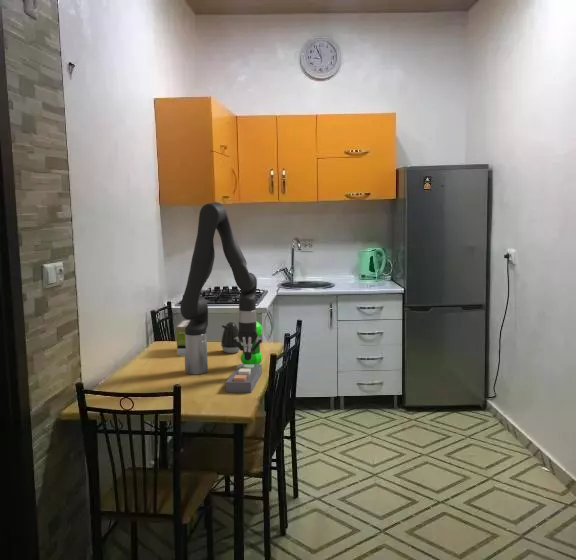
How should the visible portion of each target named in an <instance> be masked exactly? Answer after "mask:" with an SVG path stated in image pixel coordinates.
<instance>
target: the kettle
mask: <svg viewBox="0 0 576 560" xmlns="http://www.w3.org/2000/svg"><path fill="white" fill-rule="evenodd" d="M221 328H223V331H222V333H221V334H222V335H221V340H220V342H221V344H220V346H221V349H222V351H223V352H225V353H226V354H230V353H232V354H237V353H238V352H239V351H241V350H240V349H239V348H238V347H237V345H236V344H235V343H234V342H233V339H234V338H236V337H237V336H238V333H239V326H237V324H236V323H235V322H232V321H228V322H227V323H226V324H225V325H224V324H222V325H221ZM239 342H240V343H241V345H242V342H241V340H240V339H239ZM236 352H237V353H236Z"/></svg>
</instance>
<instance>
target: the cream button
mask: <svg viewBox="0 0 576 560" xmlns="http://www.w3.org/2000/svg"><path fill="white" fill-rule="evenodd" d="M250 374H251V369H241V368H240V370H239V371H238V375H250Z"/></svg>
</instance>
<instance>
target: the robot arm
mask: <svg viewBox="0 0 576 560" xmlns="http://www.w3.org/2000/svg"><path fill="white" fill-rule="evenodd" d="M228 215H229V214H228V213H227V209H226V207H225V206H224V205H223V204H222V203H220V202H217V201H214V202H208V203H205V204H204V205H203V206H201V209H200V210H199V215H198V223H197V224H198V225H197V232H196V233H197V234H196V240H195V243H194V248H193V253H192V258H191V262H190V267H189V273H188V277H187V281H186V285H185V289H184V293H183V296H182V299H181V302H180V308H179V309H180V315H181V316H182V317H183V318H184V320H186V321H188V320H190V322H189V324H188V325H187V326H186V328H185V343H186V351H185V352H184V354H185V356H184V372H185V374H189V375H202V374H205V373H208V371H209V369H208V368H209V365H208V340H207V329H208V327H209V306H208V305H209V304H208V302H207V300H206V298H205V297H203V296H201V292H202V289H203V288H204V285H205V284H206V283H207V281H208V279H209V277H210V276H211V274H212V271H213V267H214V263H215V258H216V257H215V255H216V254H215V245H214V239H215V235H216V234H215V233H216V230H217V232H218V234H219V238H220V241H221V245H222V250H223V254H224V257H225V260H227V263H228V266H229V267H230V269H231V270H232V271H231V272H232V275H233V278H234V281H235V284H236V286H237V287H238V289H239V290H240V296H239V298H238V318H237V319H238V329H239V333H238V336H237V337H236V338H234V339H233V342H234V343H235V344H236V345H237V347H238V348H239V349H240V350H239V351H240V352H243V351H244V356H245V359H246V361H250V359H251V358H252V351H255V349H256V348H257V347H258V346H259V344H260V345H261V343H262V342H263V338H261V337H260V338H259V337H258V334H257V328H256V321H257V309H256V307H257V306H256V305H257V303H256V294H257V287H258V281H257V276H256V275H255V274H254V273H252V272H249V269H248V267H247V264H248V263H247V261H246V257H245V256H244V253H243V252H242V250H241V248H240V246H239V244H238V241H237V239H236V236H235V233H234V231H233V227H232V226H231V221H230V217H229V216H228ZM239 339H240V340H241V342H242V343H243V346H242V345H241V343H240V342H239ZM256 339H257V340H256ZM255 340H256V342H257V343H256V345H255V346H254V347H252V343H253V342H254V341H255Z"/></svg>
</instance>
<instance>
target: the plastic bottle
mask: <svg viewBox="0 0 576 560" xmlns="http://www.w3.org/2000/svg"><path fill="white" fill-rule="evenodd" d="M256 328H257V334H258V337H259V338H261V337H260V336H261V335H262V334H263V326H262V324H261V323H260V322H259V321H258V320H256ZM256 340H257V339H256ZM256 340H255V341H254V342H253V343H252V347H254V346H255V345H256V343H257V342H256ZM242 346H243V343H242ZM262 360H263V354H262V351H261V343H260V344H259V346H258V347H257V348H256V349H255V351H252V358H251V359H250V361H246V359H245V356H244V351H242V353H241V355H240V361H241V364H261V363H262Z"/></svg>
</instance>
